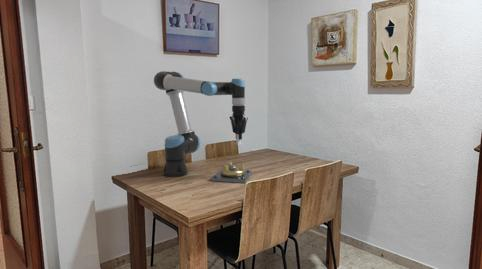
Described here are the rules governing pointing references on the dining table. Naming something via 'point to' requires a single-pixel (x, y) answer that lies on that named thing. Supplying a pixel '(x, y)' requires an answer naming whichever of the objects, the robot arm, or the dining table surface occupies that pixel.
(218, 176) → the plate
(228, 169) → the three-jaw lathe chuck
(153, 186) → the dining table surface
